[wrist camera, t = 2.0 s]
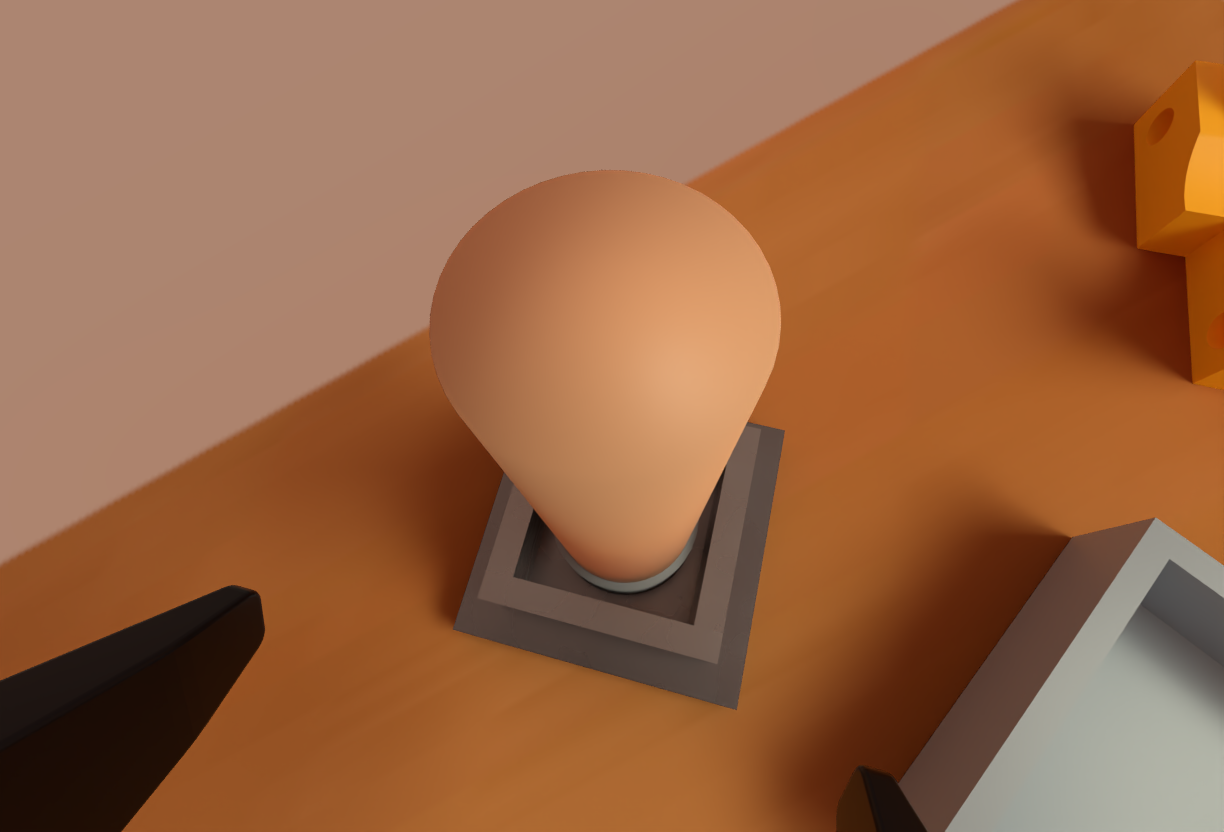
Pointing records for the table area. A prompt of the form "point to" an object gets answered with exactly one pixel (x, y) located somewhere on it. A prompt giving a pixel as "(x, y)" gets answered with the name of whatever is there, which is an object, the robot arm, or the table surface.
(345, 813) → the table surface
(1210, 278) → the pipe clamp
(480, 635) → the stud base
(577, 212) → the tan rounded tapered piece
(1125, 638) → the bin
